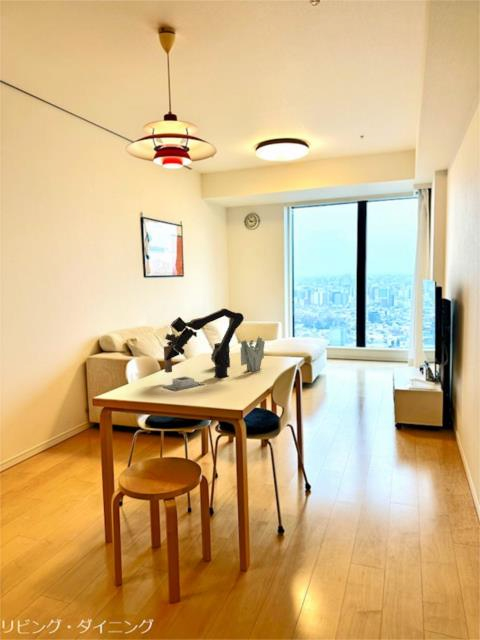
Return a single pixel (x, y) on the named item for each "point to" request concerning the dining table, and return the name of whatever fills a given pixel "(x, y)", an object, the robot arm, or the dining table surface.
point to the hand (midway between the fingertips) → (165, 359)
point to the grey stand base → (182, 383)
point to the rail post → (167, 362)
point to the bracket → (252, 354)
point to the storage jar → (225, 354)
